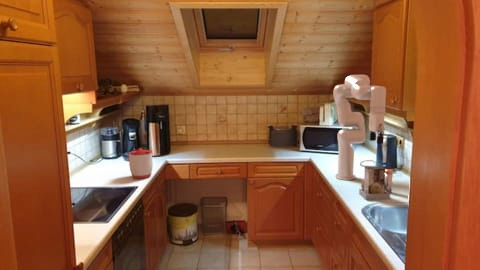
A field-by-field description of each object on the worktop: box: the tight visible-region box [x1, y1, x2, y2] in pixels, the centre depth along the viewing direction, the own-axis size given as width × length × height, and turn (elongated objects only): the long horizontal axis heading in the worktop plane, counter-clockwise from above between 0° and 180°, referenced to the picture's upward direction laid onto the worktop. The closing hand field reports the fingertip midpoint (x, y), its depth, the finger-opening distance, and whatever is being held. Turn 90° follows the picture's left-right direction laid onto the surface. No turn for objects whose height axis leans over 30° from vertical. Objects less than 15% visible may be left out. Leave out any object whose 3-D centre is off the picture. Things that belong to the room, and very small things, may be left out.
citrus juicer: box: [125, 147, 153, 179], centre depth 254 cm, size 16×17×20 cm
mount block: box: [360, 178, 364, 189], centre depth 219 cm, size 9×9×5 cm
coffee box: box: [363, 165, 386, 194], centre depth 205 cm, size 9×6×16 cm
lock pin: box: [384, 168, 394, 194], centre depth 212 cm, size 4×4×13 cm
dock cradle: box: [358, 188, 391, 201], centre depth 206 cm, size 10×13×3 cm
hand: (376, 142), depth 202 cm, fingers open, 9 cm apart
